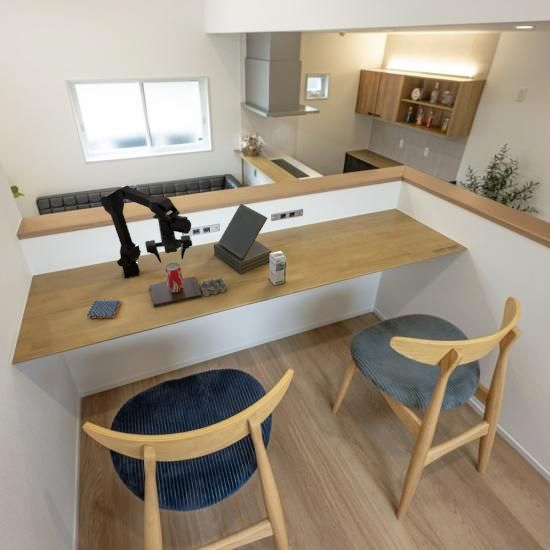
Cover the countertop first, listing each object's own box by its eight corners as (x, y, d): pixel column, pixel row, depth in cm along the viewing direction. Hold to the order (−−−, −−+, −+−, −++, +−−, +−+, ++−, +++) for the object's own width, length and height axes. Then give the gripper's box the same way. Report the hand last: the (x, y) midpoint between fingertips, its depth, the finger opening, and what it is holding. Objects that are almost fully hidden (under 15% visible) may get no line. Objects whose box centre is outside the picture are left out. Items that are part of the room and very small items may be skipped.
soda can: (180, 294, 157) (177, 271, 150) (165, 292, 158) (161, 269, 151) (186, 285, 163) (183, 263, 156) (172, 283, 164) (168, 260, 157)
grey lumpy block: (203, 297, 158) (202, 290, 156) (199, 287, 164) (198, 280, 162) (226, 292, 162) (226, 285, 160) (222, 283, 168) (222, 276, 165)
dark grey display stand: (214, 254, 188) (210, 210, 174) (244, 243, 199) (243, 200, 185) (240, 274, 174) (239, 227, 160) (271, 260, 185) (272, 215, 171)
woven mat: (114, 318, 145) (113, 314, 144) (87, 319, 144) (85, 315, 143) (121, 302, 154) (120, 298, 153) (95, 303, 153) (94, 299, 152)
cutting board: (154, 307, 152) (153, 304, 151) (150, 287, 163) (149, 284, 163) (201, 297, 158) (201, 294, 158) (194, 278, 170) (194, 276, 169)
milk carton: (274, 285, 167) (275, 258, 159) (268, 279, 172) (269, 252, 163) (285, 282, 169) (287, 256, 161) (279, 276, 174) (280, 249, 166)
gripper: (144, 241, 141) (151, 274, 150) (193, 234, 147) (196, 266, 156) (142, 228, 149) (148, 260, 158) (188, 222, 155) (191, 253, 164)
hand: (171, 260), depth 159 cm, fingers open, 9 cm apart
